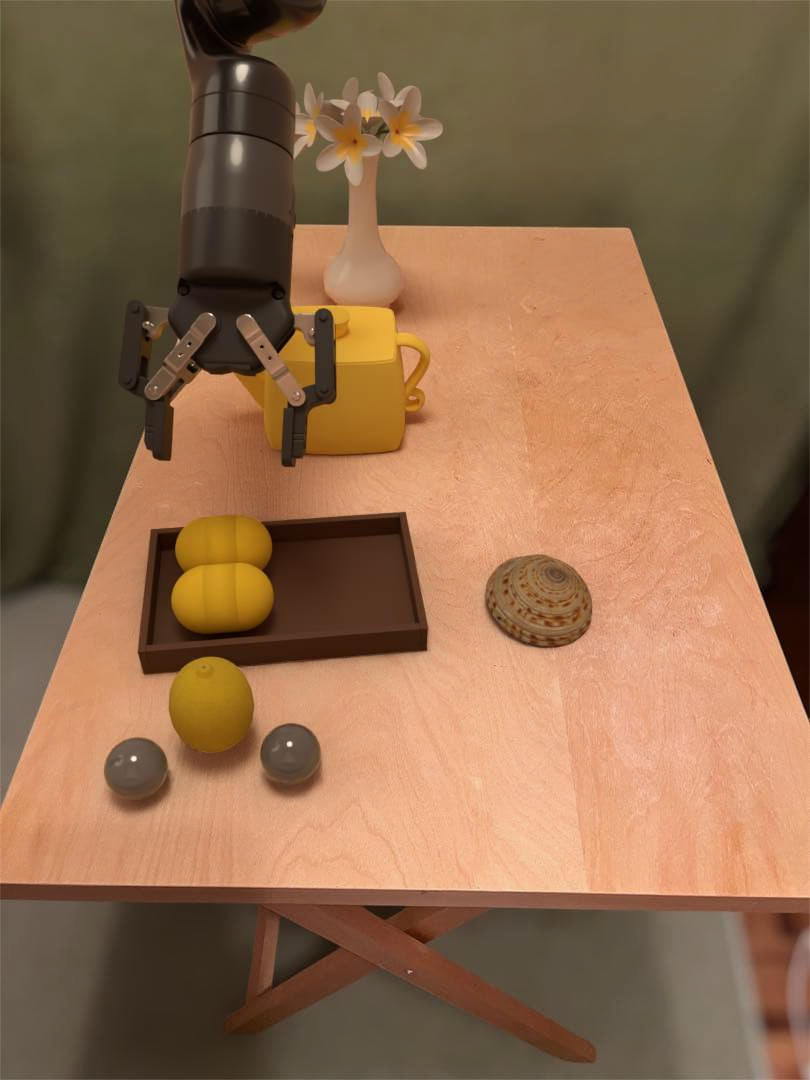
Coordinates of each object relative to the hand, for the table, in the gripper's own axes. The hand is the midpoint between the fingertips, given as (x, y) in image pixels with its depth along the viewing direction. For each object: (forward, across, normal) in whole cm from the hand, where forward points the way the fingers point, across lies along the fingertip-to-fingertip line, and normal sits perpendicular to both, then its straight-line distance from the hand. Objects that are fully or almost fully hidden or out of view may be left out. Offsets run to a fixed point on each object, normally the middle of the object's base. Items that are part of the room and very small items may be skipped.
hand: (225, 462), depth 61 cm
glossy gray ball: (+22, -4, 0) cm, 22 cm away
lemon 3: (+19, 0, +3) cm, 19 cm away
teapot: (-8, +3, +30) cm, 31 cm away
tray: (+9, +3, +13) cm, 16 cm away
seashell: (+9, +23, +13) cm, 28 cm away
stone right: (+20, +5, +1) cm, 21 cm away
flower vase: (-24, +4, +46) cm, 52 cm away
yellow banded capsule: (+7, -2, +14) cm, 16 cm away
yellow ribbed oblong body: (+11, -1, +10) cm, 15 cm away
